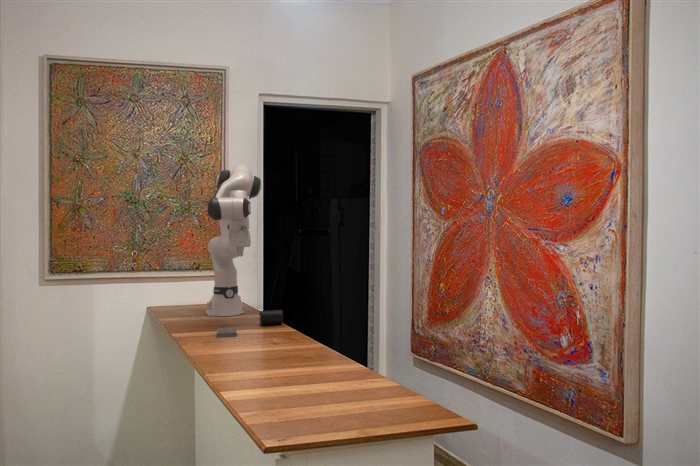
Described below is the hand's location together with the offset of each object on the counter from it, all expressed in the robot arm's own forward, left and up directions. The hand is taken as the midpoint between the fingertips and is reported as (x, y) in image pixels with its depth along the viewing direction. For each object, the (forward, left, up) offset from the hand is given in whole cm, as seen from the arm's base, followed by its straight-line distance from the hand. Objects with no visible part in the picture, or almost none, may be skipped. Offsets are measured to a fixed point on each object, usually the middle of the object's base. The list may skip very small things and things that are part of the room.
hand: (240, 256), depth 334 cm
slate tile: (+17, -12, -30) cm, 37 cm away
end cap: (+9, +11, -31) cm, 34 cm away
